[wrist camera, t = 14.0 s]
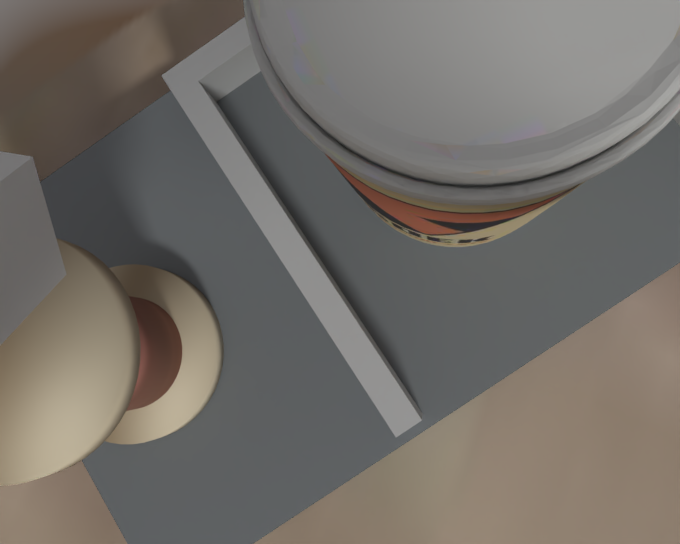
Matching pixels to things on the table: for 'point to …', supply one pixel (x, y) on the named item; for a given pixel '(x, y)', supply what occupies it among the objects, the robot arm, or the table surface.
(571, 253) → the gray board
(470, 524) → the table surface
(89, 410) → the wooden bobbin
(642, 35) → the coffee cup
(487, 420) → the table surface
